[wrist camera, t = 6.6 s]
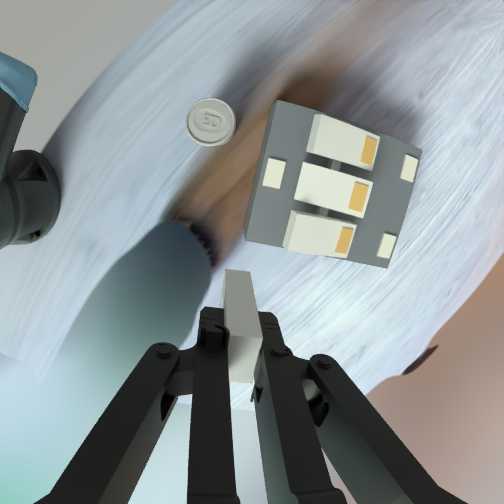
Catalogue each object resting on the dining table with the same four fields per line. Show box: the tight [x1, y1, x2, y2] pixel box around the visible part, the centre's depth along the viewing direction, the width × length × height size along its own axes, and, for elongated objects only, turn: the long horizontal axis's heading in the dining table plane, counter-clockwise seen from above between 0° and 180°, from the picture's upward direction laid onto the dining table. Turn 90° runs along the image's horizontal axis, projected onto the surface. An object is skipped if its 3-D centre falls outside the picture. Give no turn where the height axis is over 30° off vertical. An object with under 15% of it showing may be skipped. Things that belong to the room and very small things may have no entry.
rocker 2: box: [294, 162, 373, 218], centre depth 32 cm, size 8×4×2 cm, turn 79°
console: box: [244, 100, 422, 268], centre depth 37 cm, size 20×17×7 cm
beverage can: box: [185, 98, 236, 146], centre depth 31 cm, size 5×5×12 cm
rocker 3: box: [282, 210, 357, 258], centre depth 34 cm, size 8×4×2 cm, turn 76°
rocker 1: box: [306, 114, 380, 171], centre depth 30 cm, size 8×4×2 cm, turn 76°
